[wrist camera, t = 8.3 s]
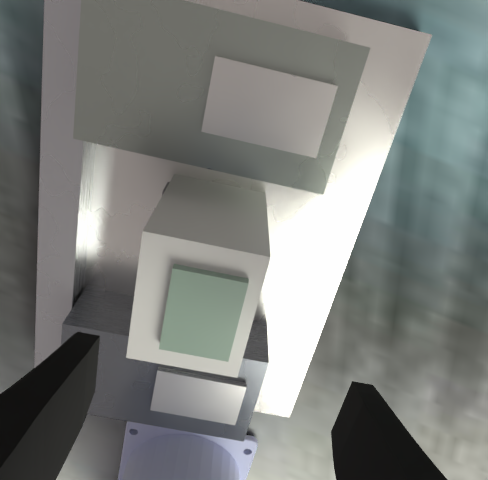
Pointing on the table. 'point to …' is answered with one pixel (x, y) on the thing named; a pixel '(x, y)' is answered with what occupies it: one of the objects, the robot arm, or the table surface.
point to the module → (200, 276)
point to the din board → (208, 176)
